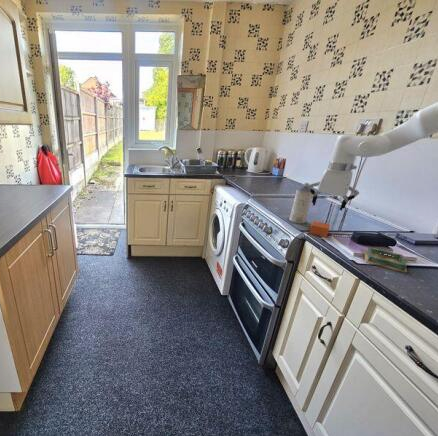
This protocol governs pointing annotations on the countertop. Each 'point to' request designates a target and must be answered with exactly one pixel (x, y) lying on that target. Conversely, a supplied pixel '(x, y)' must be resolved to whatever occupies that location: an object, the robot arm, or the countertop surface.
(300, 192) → the aerosol can
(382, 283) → the countertop surface
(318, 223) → the orange block
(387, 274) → the countertop surface
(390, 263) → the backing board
